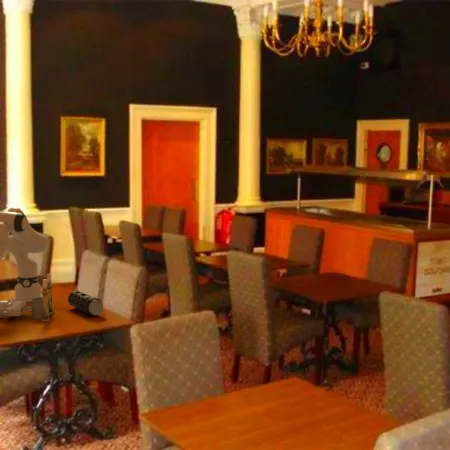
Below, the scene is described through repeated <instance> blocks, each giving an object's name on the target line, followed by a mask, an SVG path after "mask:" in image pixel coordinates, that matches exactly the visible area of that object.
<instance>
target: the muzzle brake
mask: <svg viewBox="0 0 450 450" xmlns="http://www.w3.org/2000/svg"><path fill="white" fill-rule="evenodd" d="M67 297H68V298H67V302H68V304H69V305H70V306H71V307H73V308H74V309H76V310H78V311H80V312H82V313H86V314H87V315H88V314H89V315H88V316H90V315H91V316H90V317H93V316H99V315H100V314H101V313H102V312H103V310H104V305H103V301H102V300H101V299H100V298H98V297H95V296H91V295H88V294H86V293H84V292H82V291H79V290H73V291H71V292H70V293H69V295H68V296H67Z"/></svg>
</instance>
